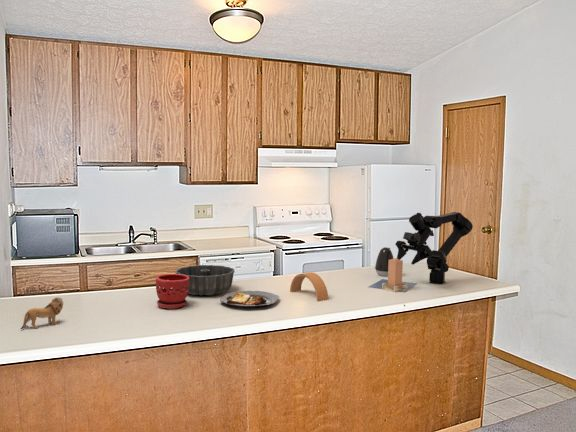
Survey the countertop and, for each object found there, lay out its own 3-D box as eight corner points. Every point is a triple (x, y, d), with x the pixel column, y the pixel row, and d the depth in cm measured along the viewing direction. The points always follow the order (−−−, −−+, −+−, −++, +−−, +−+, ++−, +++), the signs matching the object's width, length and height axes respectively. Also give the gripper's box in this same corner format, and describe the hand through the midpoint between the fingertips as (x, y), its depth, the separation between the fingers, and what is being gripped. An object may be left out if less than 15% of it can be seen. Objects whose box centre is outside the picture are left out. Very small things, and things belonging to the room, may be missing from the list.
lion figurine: (59, 319, 181) (59, 295, 181) (67, 322, 178) (66, 297, 177) (17, 329, 170) (16, 303, 169) (24, 332, 167) (23, 306, 166)
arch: (317, 302, 209) (317, 278, 208) (289, 292, 225) (290, 270, 224) (328, 300, 212) (328, 277, 211) (300, 290, 228) (300, 268, 227)
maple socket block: (394, 286, 235) (394, 281, 234) (407, 289, 228) (407, 284, 228) (382, 288, 230) (382, 283, 230) (394, 292, 224) (395, 287, 223)
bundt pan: (198, 282, 241) (198, 262, 240) (245, 288, 230) (245, 267, 229) (162, 294, 218) (162, 272, 217) (212, 302, 206) (212, 278, 205)
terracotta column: (394, 286, 232) (395, 257, 231) (401, 288, 228) (402, 259, 227) (387, 287, 230) (388, 258, 228) (394, 289, 226) (395, 260, 225)
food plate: (269, 312, 192) (269, 303, 192) (212, 308, 197) (212, 300, 197) (283, 297, 217) (283, 289, 217) (232, 295, 221) (232, 287, 221)
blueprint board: (417, 284, 241) (417, 283, 241) (405, 293, 224) (405, 292, 224) (382, 280, 250) (382, 279, 250) (367, 288, 233) (367, 287, 233)
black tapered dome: (397, 275, 261) (398, 246, 260) (390, 279, 252) (391, 249, 251) (379, 273, 266) (380, 245, 265) (371, 276, 258) (372, 247, 256)
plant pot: (170, 312, 191) (170, 281, 190) (149, 306, 199) (148, 277, 198) (196, 305, 202) (196, 276, 200) (174, 299, 209) (174, 271, 208)
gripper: (398, 223, 240) (381, 248, 235) (429, 228, 225) (411, 254, 220) (409, 238, 245) (392, 263, 240) (440, 243, 230) (423, 270, 225)
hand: (404, 262), depth 231 cm, fingers open, 9 cm apart
